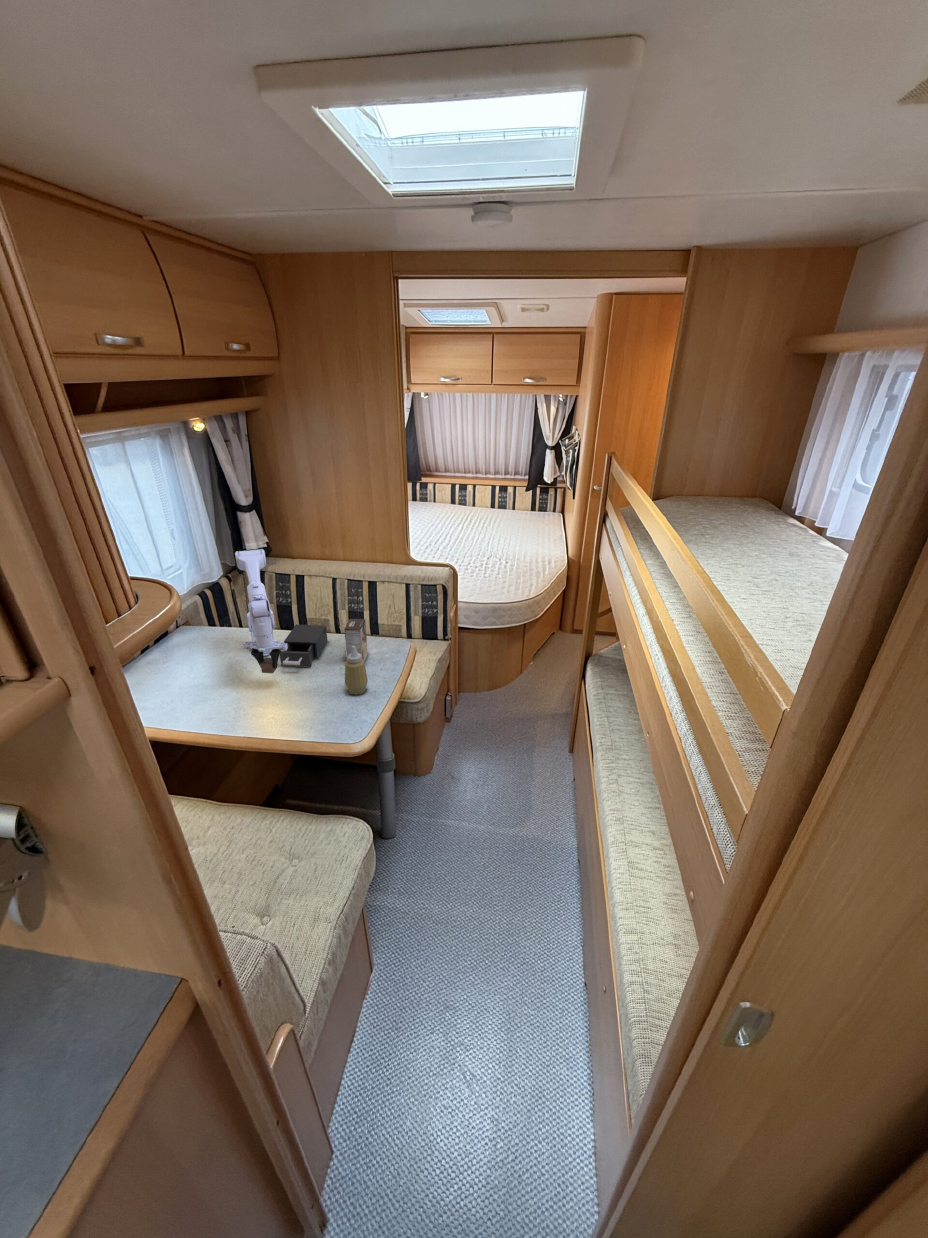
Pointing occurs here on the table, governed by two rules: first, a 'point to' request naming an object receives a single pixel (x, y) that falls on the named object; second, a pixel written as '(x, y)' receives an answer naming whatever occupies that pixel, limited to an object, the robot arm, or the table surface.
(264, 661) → the block
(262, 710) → the table surface
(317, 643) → the dark grey drawer box
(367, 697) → the table surface
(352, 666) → the squeeze bottle
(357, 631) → the coffee box
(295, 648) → the drawer
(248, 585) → the robot arm
